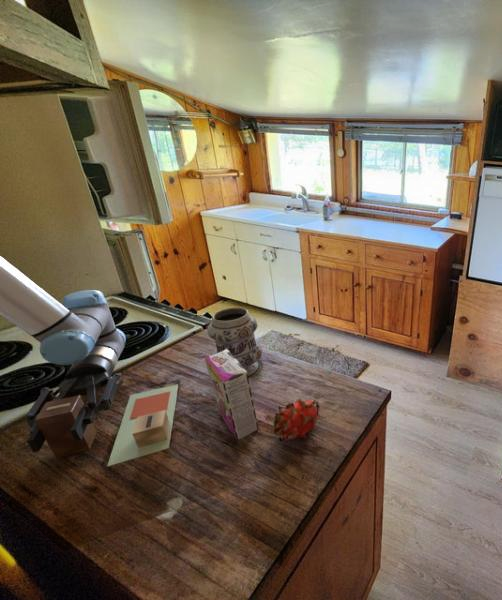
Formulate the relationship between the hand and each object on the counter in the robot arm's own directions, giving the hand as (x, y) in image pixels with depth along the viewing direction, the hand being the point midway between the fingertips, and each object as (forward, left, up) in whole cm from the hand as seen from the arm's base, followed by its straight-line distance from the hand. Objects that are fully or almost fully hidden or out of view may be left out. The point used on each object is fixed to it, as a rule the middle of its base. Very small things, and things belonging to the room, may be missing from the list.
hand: (54, 440), depth 59 cm
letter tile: (+13, +2, -7) cm, 15 cm away
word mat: (+11, +8, -7) cm, 16 cm away
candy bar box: (+29, -1, -8) cm, 30 cm away
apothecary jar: (+31, +19, -8) cm, 37 cm away
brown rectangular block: (0, +5, -6) cm, 8 cm away
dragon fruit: (+41, -9, -8) cm, 43 cm away
